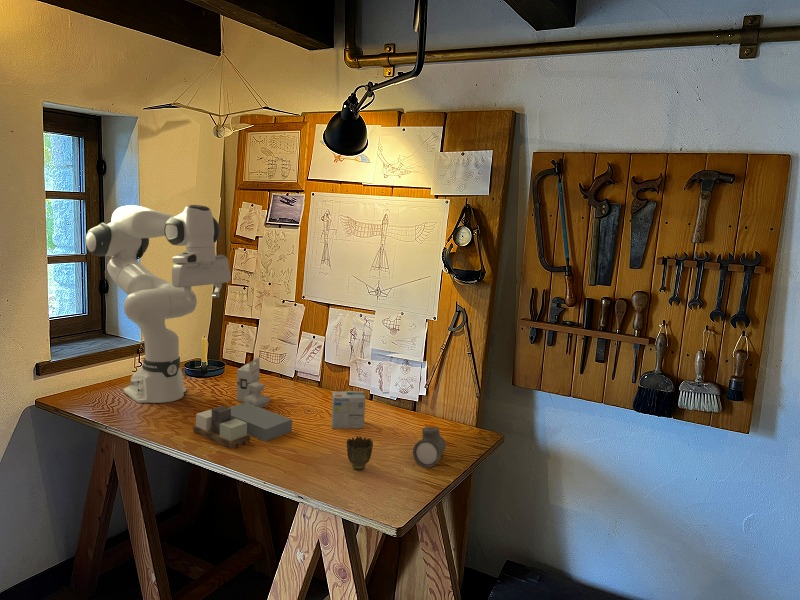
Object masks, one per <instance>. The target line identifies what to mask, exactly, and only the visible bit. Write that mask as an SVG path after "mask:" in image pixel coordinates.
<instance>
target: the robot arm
mask: <svg viewBox="0 0 800 600" xmlns="http://www.w3.org/2000/svg"><path fill="white" fill-rule="evenodd" d="M220 236H221V226H220V223H219V222H218V221H217V220H216V218H215V217H214V216H213V213H212V210H211V209H210V207H208V206H207V205H199V204H189V205H186V206H185V207H184V210H183V211H182V212H180V213H179V214H177V215H173V214H169V213H166V212H162V211H159V210H155V209H153V208H149V207H145V206H140V205H123V206H120V207H118V208H116V209H115V210H114V211H113V213H112V215H111V222H109V223H105V222H100V223H99V224H98V225H97V226H94V227H91V228H90V229H89V230H88V231H87V232H86V234H85V238H84V239H85V241H84V243H85V247H86V249H87V251H88V252H89V253H90V254H91V255H93V256H97V257H105V256H106V257H111V258H110V259H109V261H108V263H107V267H106V269H107V272H108V275H109V276H110V278H111V279H112V280H113V282H114V283H115V284H116V286H118V287H119V289H121V290H122V291H123V292H124V293H125V295H127V296H126V297H125V298H124V302H123V311H124V314H125V315H126V317H127V318H128V319H129V321H131V322H133V323H134V324H136V325H137V327H138V328H139V329H140V331H141V333H142V336H143V340H144V342H143V343H144V357H142V358H140V359H141V362H142V365H141V368H139V370H137V371H136V372H134V373H133V374H132V375H131V376H130V377H131V378H130V385H129V386H126V387H124V388H123V393H125V394H126V395H128V396H129V397H130V398H131V399H132V400H134V401H135V402H136V403H138V404H139V403H140V404H143V403H144V404H146V403H152V404H153V403H154V404H155V403H157V404H159V403H161V404H162V403H172V402H174V401H177V400H180V399H182V398H183V397H184V395H185V393H186V391H187V388H186V387H185V386H184V377H183V370H182V369H181V357H180V352H179V349H180V345H179V343H180V342H179V341H180V340H179V336H178V334H177V333H176V332H174V331H173V330H171V329H169V328H167V326H166V320H168V319H169V320H171V319H175V318H181V317H184V316H185V317H186V316H187V315H190V314H191V313H193V312H194V311H195V310H196V308H197V303H198V301H197V296H196V294H195V292H194V290H193V289H192V287H199V286H200V287H201V286H207V285H208V286H209V285H213V286H214V287H215V288H214V291H212V293H211V294H212V298H213V299H216V298H217V299H218V298H220V291H221V289H222V287H223V285H222V284H225V283H230V281H231V279H232V275H231V270H230V264H229V258H228V257H227V256H226V255H224V254H218V255H217V254H216V244H215V243H216V242H217V241H218V240H219V238H220ZM160 237H161V238H162V237H165V238H166V240H167V242H168V243H169V244H171V245H172V246H177V247H183V246H186V247H185V251H182V252H181V253H178V254H175V255H174V256H172V263H174V264H173V265H172V267H171V282H170V281H167V280H166V279H163V278H161V277H159V276H157V275H155V274H154V273H152V272H151V271H150V270H149V269H148V268H146V267H145V266H144V265H143V264H142V263H140V262H139V261H138V260H140V259H141V258H142V257H143V256H144V254H145V253H146V251H147V250H148V248H149V245H150V239H153V238H160Z"/></svg>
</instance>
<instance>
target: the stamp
mask: <svg viewBox="0 0 800 600" xmlns="http://www.w3.org/2000/svg"><path fill="white" fill-rule="evenodd" d="M265 386H266V385H265V384H264V383H262V382H261V383H260V382H259V383H258V382H254V383H251V384H248V388H249V390H250V391H252V392H253V394H252V395H249V396H246V397H244V398H243V402H242V403H245V402H246V403H249V404H252V405H254V406H257V407H260V408H264V407H266V406H267V405H268V404H269V403H270V402H271V398H270V397H269V396H268V395H264V394H261V393H262V392H263V391H265V388H266V387H265Z"/></svg>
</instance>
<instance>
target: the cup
mask: <svg viewBox="0 0 800 600" xmlns="http://www.w3.org/2000/svg"><path fill="white" fill-rule="evenodd" d="M373 447H374V441H373V440H372V439H371V438H369V437H368V439H367V438H366V436H365V437H362V436H356V438H355V437H352V438H348V439H347V440H346V453H347V458H348V461H349V462H350V464H351V467H352V469H353V470H355V471H363V470H364V469H365V468H366V465H367V463H369V462H370V460H371V457H372V452H373Z"/></svg>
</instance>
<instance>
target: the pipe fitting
mask: <svg viewBox="0 0 800 600" xmlns="http://www.w3.org/2000/svg"><path fill="white" fill-rule="evenodd" d="M421 432H422V433H421V434H422V439H420V440H418V441H417V442H416V443H415V444H414V447H413V449H412V456H413V459H414V460H415V463H417V464H418V465H419V466H420V467H422V468H427V469H428V468H433V467H435V466H436V465H437V464H438V463H439V462H440V460H441V458H442V454H443V453H444V452H445V450H446V447H447V443H446V439H444V437H442V436H441V433H440V428H439V427H435V426H425V427H422V428H421Z"/></svg>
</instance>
